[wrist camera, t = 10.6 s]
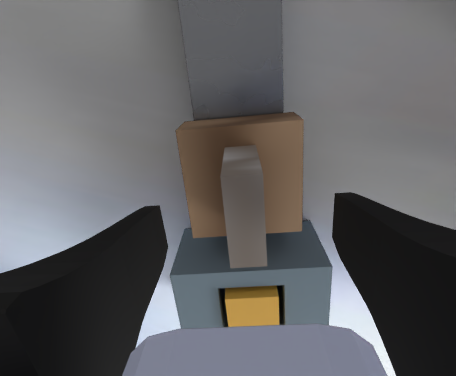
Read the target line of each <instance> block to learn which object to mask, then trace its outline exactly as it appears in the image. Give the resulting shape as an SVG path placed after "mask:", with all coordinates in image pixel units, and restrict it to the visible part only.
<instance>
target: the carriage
mask: <svg viewBox="0 0 456 376" xmlns="http://www.w3.org/2000/svg"><path fill="white" fill-rule="evenodd" d="M176 137H177V143H178V149H179V155H180V161H181V167H182V173H183V179H184V185H185V192H186V198H187V204H188V210H189V216H190V222H191V228H192V234H193V238H204V237H220V236H227V242H228V251H229V261H230V268H245V267H263V266H267V249H266V234H267V233H283V232H299V231H302V200H303V119H302V118H301V117H299V116H298V115H297V114H295V113H294V112H288V113H277V114H266V115H254V116H243V117H232V118H221V119H209V120H198V121H187V122H184V123H183V124H182V125H181V126H180V127H179V128H178V129H177V130H176Z"/></svg>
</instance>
